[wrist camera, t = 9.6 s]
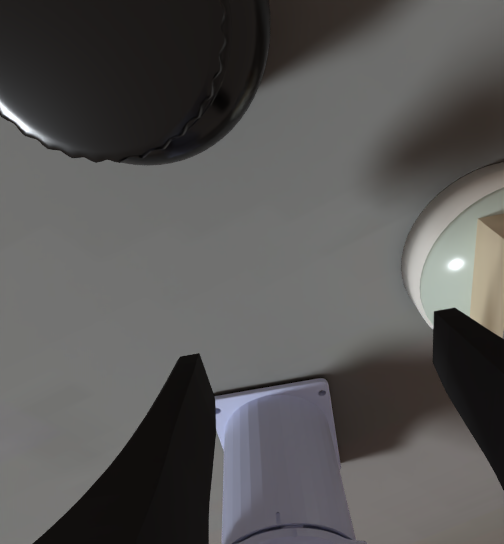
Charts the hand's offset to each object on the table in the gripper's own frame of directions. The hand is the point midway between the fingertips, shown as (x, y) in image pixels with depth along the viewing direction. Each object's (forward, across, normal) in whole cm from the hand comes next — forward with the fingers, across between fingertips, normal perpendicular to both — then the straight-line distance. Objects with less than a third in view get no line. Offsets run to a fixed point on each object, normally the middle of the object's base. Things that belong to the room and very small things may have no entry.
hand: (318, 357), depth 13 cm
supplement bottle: (+11, +3, -10) cm, 15 cm away
